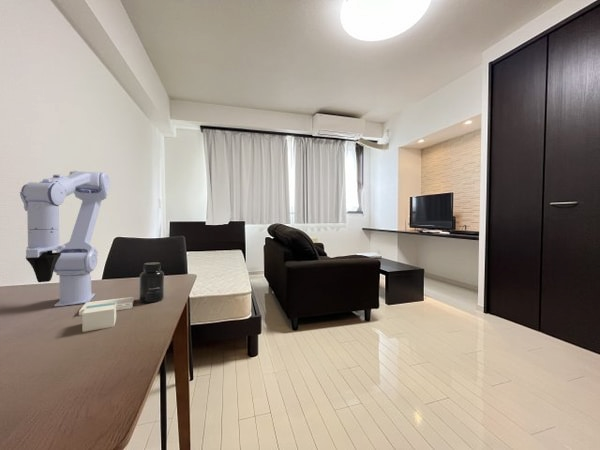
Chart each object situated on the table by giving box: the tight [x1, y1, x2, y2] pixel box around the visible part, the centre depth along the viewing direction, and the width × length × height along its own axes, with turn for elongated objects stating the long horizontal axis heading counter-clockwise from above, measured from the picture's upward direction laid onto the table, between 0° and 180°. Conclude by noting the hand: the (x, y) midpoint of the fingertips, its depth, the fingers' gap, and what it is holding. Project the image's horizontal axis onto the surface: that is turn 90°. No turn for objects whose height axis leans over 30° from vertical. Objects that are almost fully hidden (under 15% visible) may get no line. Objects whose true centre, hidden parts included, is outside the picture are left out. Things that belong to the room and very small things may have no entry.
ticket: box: [78, 296, 135, 316], centre depth 75 cm, size 8×12×1 cm, turn 119°
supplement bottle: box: [138, 261, 165, 304], centre depth 82 cm, size 7×7×12 cm
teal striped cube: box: [81, 302, 117, 333], centre depth 63 cm, size 6×6×5 cm
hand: (44, 281), depth 66 cm, fingers closed
